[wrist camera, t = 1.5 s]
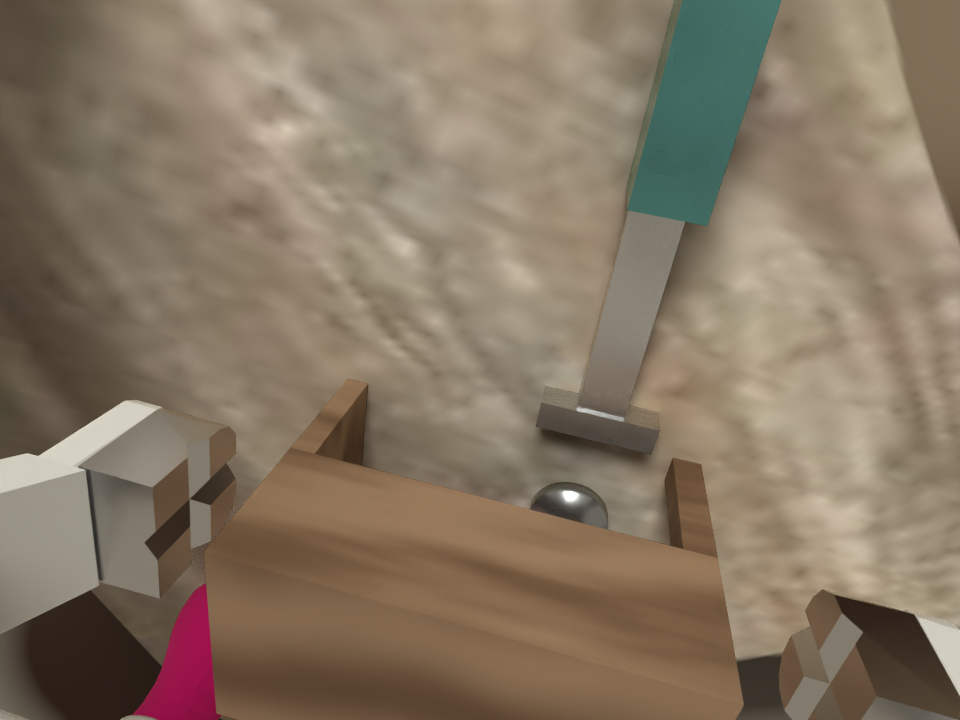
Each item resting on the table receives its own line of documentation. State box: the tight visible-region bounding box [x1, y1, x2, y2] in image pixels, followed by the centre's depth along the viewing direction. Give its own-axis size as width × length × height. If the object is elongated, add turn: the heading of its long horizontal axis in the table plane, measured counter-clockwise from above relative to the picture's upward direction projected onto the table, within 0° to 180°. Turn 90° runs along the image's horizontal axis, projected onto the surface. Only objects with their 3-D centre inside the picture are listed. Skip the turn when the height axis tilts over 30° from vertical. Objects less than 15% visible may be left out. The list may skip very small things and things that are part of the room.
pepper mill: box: [120, 583, 222, 720], centre depth 36 cm, size 7×7×20 cm
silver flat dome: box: [530, 482, 608, 529], centre depth 37 cm, size 4×4×1 cm
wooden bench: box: [204, 379, 744, 720], centre depth 31 cm, size 10×20×14 cm, turn 81°
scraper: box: [536, 0, 781, 455], centre depth 27 cm, size 20×6×5 cm, turn 171°
